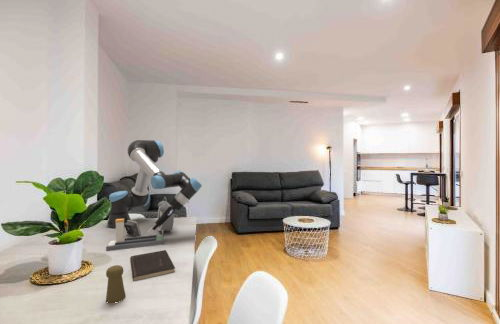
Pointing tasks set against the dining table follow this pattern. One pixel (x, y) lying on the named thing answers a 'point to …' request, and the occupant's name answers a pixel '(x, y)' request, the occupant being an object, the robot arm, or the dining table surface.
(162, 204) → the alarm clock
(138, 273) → the hardcover book
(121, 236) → the breaker handle
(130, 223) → the electrical switch
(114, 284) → the cork
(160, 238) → the panel
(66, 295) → the dining table surface
